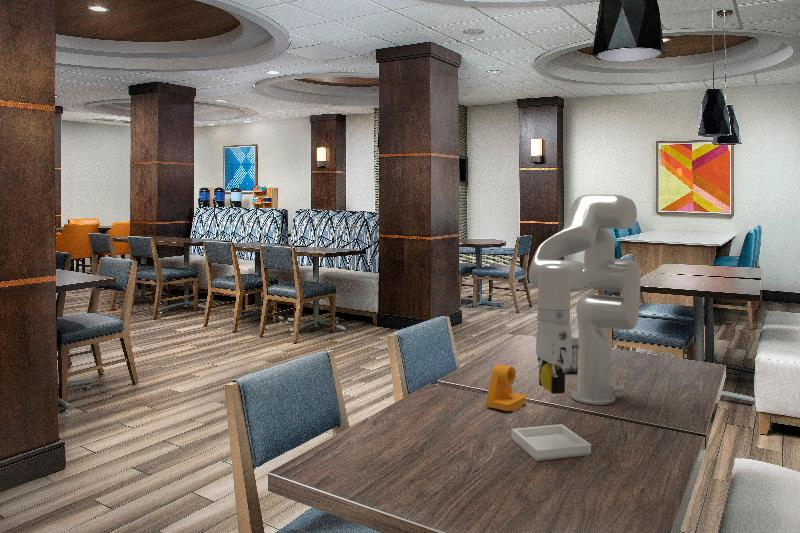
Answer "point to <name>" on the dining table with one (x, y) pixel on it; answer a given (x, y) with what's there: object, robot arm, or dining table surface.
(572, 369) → the planter
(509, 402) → the bracket
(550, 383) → the lemon
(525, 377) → the dining table surface
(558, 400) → the dining table surface
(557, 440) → the tray
